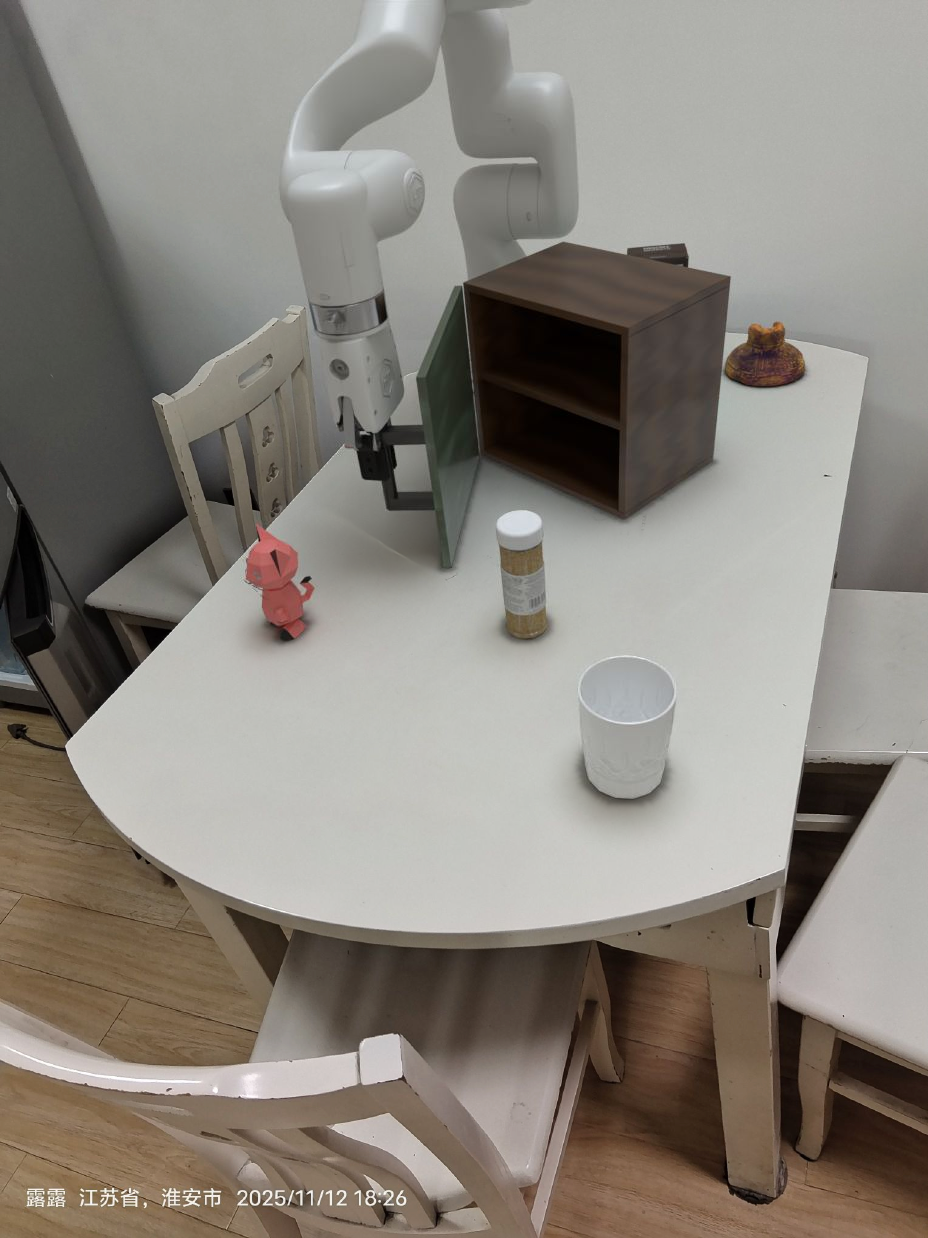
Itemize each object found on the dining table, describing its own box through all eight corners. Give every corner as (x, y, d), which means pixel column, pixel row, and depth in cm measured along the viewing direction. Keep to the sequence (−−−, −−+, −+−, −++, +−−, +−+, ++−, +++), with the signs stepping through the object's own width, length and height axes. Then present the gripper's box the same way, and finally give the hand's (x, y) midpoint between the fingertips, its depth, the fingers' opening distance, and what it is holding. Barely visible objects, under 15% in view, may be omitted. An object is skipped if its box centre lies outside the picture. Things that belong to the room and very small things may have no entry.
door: (391, 567, 101) (354, 379, 86) (428, 457, 121) (404, 288, 106) (451, 567, 100) (425, 376, 85) (479, 456, 120) (462, 285, 105)
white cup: (571, 741, 78) (569, 661, 72) (657, 730, 78) (662, 649, 72) (588, 811, 72) (587, 730, 66) (681, 799, 72) (689, 716, 66)
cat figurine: (252, 620, 97) (222, 532, 89) (307, 596, 99) (283, 509, 91) (274, 654, 92) (244, 564, 84) (332, 628, 94) (308, 539, 86)
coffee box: (680, 343, 142) (686, 241, 132) (684, 359, 137) (690, 255, 127) (624, 346, 144) (626, 246, 133) (626, 362, 139) (628, 259, 128)
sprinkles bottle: (534, 607, 93) (528, 503, 85) (556, 630, 90) (551, 524, 81) (497, 622, 92) (487, 517, 83) (518, 646, 89) (509, 540, 80)
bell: (717, 384, 129) (722, 337, 125) (732, 352, 138) (736, 307, 133) (799, 391, 125) (806, 342, 120) (808, 357, 133) (816, 311, 129)
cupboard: (624, 520, 104) (628, 327, 89) (480, 455, 120) (462, 282, 105) (713, 461, 113) (731, 275, 97) (567, 407, 129) (563, 241, 113)
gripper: (356, 344, 78) (388, 514, 90) (409, 282, 89) (431, 440, 101) (282, 343, 80) (323, 510, 91) (342, 283, 91) (372, 438, 103)
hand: (379, 472), depth 96 cm, fingers closed on door
